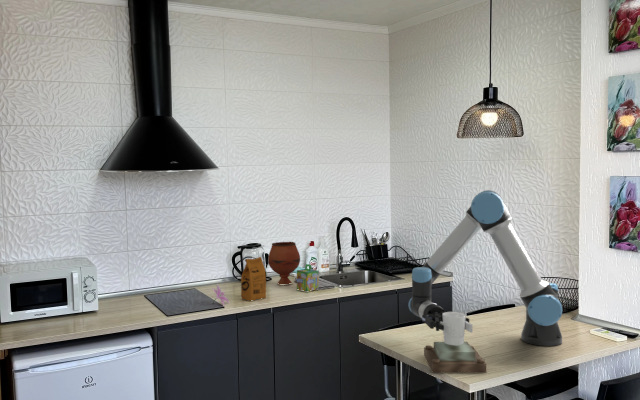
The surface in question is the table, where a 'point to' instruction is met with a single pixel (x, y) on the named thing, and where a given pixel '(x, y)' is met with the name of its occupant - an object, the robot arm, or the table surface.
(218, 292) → the lily
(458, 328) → the white cup
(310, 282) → the colorful lantern
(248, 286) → the coffee package
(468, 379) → the table surface
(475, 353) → the plinth
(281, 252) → the goblet
